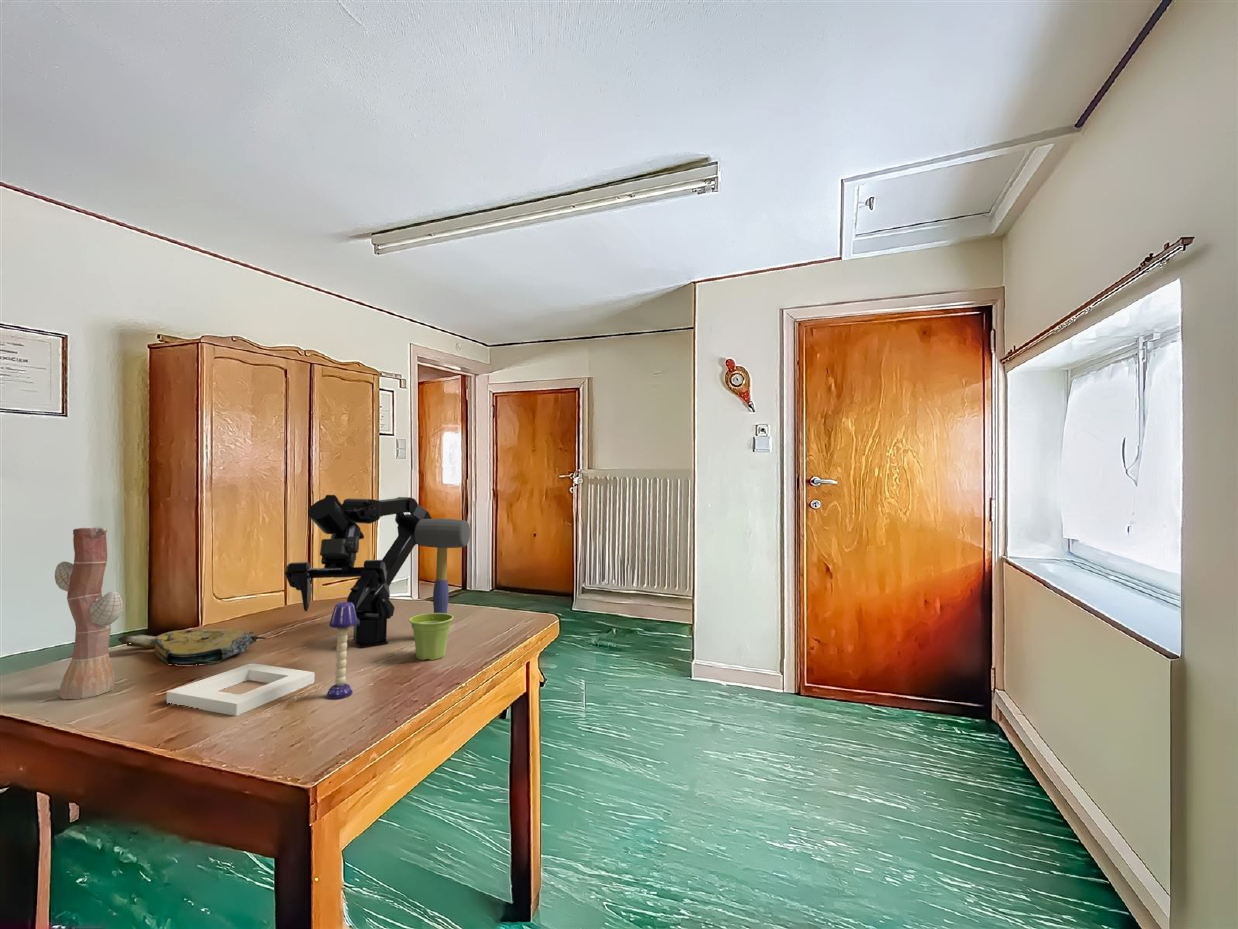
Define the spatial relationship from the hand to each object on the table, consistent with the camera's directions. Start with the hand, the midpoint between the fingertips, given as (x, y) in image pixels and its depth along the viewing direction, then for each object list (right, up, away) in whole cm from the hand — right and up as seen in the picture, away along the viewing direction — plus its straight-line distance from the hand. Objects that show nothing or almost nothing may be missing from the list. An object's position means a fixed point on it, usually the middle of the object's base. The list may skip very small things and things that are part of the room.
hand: (330, 609), depth 112 cm
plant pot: (+16, -14, +13) cm, 25 cm away
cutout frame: (-11, -13, -10) cm, 19 cm away
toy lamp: (+7, -13, -10) cm, 18 cm away
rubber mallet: (+13, -15, +27) cm, 34 cm away
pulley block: (-38, -13, +11) cm, 42 cm away
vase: (-39, -12, -11) cm, 43 cm away
